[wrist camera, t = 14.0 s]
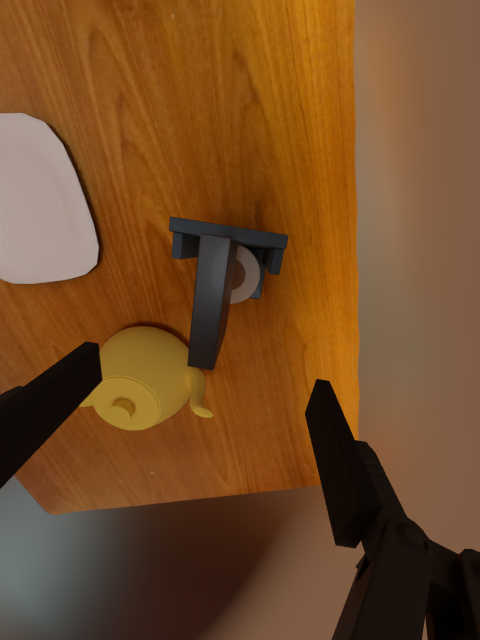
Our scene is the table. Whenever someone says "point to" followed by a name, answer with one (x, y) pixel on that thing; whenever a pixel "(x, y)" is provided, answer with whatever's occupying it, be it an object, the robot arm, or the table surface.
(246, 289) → the paper roll
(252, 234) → the cradle
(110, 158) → the table surface
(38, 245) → the plate
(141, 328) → the teapot
